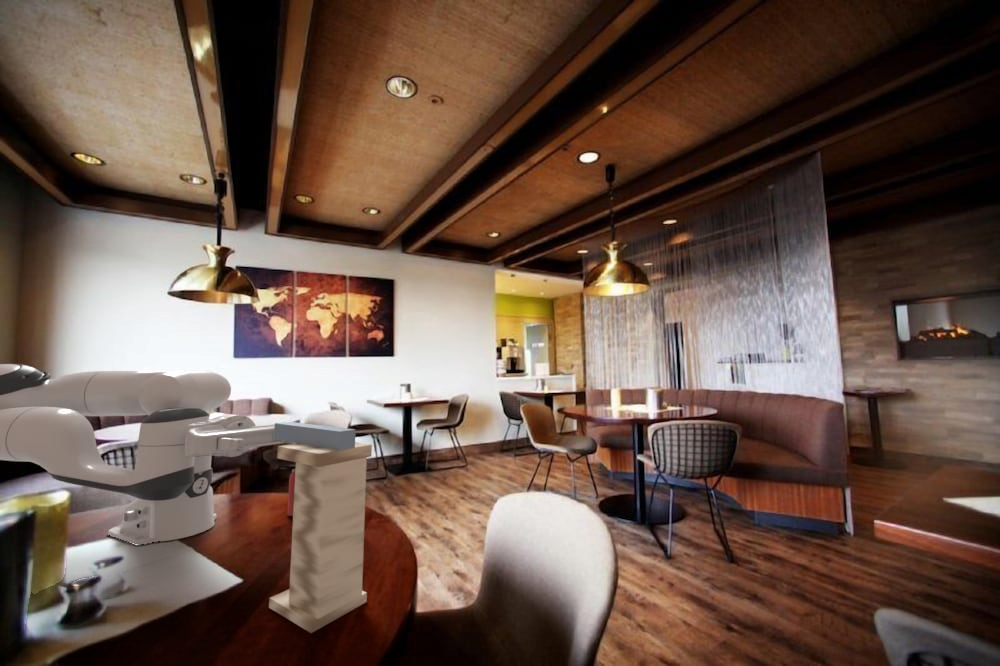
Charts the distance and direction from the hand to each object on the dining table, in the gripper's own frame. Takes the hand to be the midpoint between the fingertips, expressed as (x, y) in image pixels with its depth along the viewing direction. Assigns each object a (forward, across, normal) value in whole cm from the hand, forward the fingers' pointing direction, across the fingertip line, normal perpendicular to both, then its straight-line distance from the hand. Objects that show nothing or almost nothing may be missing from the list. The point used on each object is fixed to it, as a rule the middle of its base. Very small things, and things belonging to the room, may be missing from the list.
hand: (264, 440), depth 81 cm
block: (+16, 0, +1) cm, 16 cm away
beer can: (-24, -23, -25) cm, 42 cm away
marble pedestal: (+20, 0, -25) cm, 32 cm away
